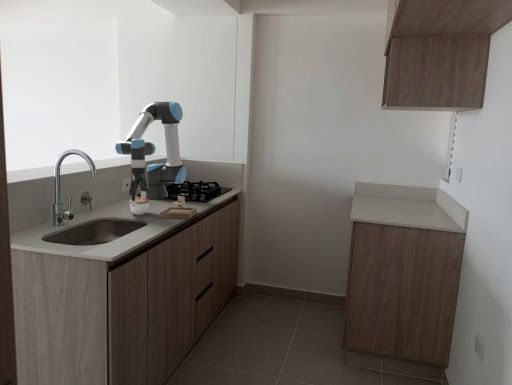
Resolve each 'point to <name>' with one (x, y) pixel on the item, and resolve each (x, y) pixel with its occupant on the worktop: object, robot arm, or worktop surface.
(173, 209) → the wooden tray
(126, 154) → the robot arm
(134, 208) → the lidded jar
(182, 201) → the architectural model
